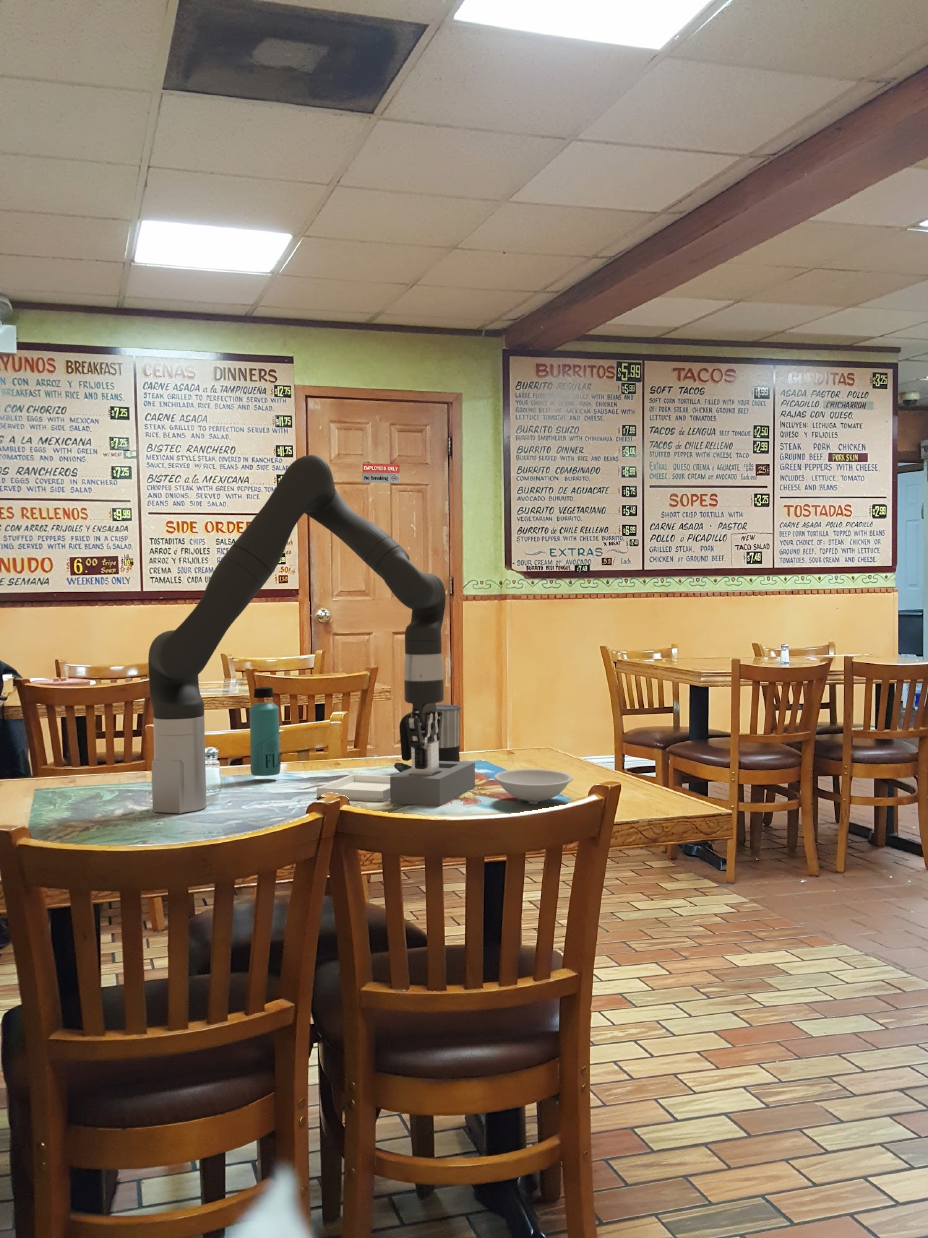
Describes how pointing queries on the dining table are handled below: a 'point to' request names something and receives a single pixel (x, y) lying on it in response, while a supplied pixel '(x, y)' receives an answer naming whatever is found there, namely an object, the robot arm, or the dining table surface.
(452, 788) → the slotted block
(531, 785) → the dish
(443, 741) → the milk frother
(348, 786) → the tray
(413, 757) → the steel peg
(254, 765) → the beverage bottle
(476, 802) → the dining table surface
